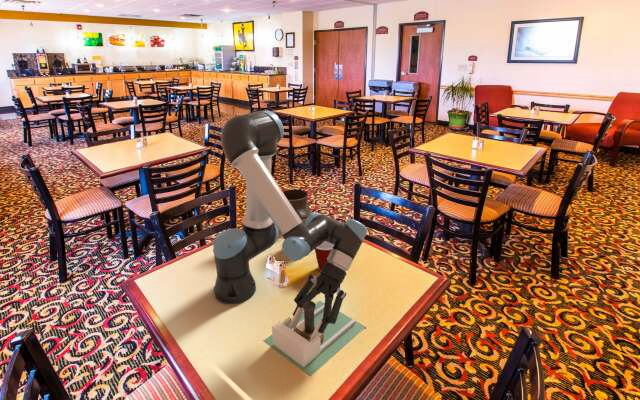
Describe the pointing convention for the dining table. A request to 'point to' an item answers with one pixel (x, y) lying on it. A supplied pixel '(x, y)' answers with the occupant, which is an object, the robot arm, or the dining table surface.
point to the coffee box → (303, 214)
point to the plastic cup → (323, 253)
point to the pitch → (326, 338)
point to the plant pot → (297, 198)
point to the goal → (295, 343)
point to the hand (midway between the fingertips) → (301, 334)
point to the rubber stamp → (308, 322)
